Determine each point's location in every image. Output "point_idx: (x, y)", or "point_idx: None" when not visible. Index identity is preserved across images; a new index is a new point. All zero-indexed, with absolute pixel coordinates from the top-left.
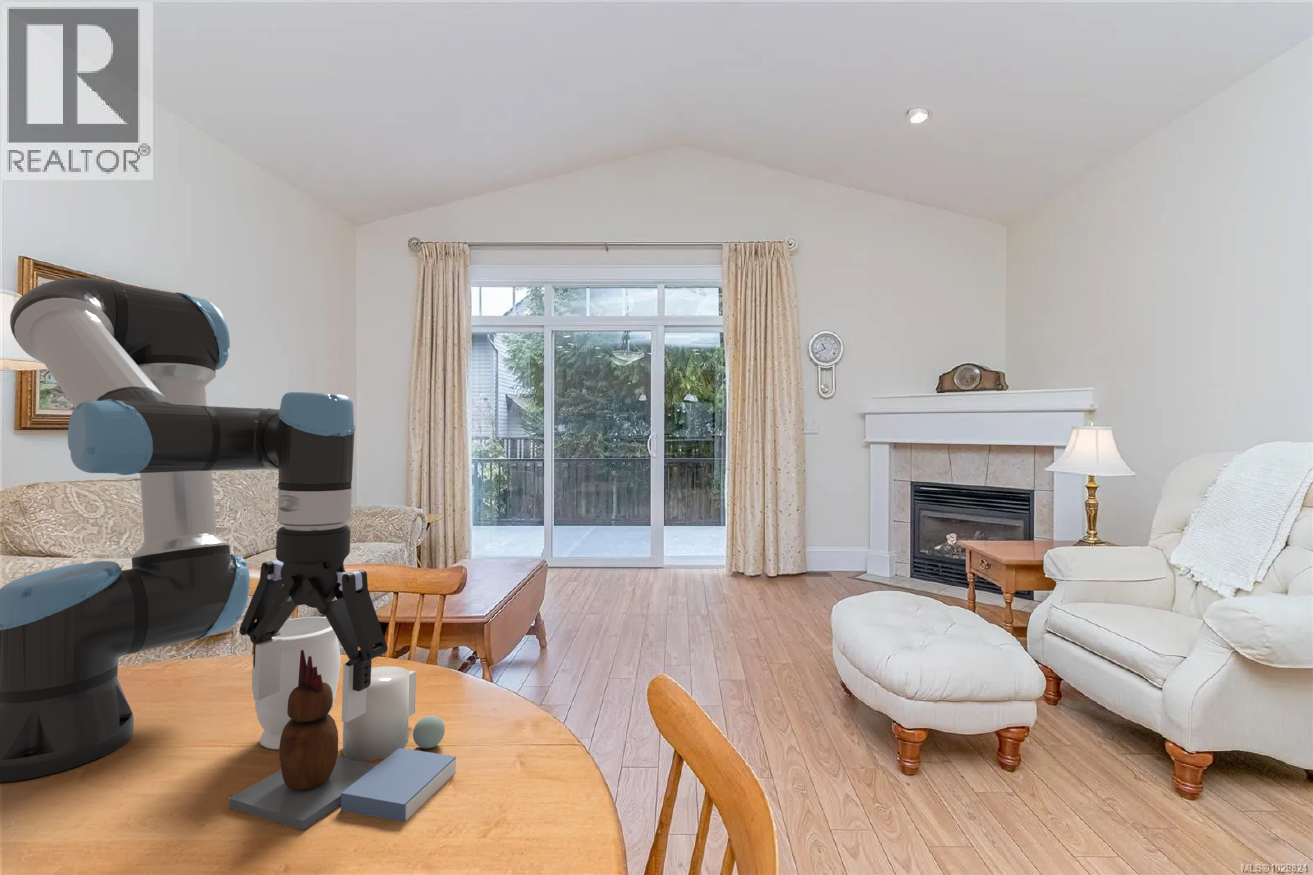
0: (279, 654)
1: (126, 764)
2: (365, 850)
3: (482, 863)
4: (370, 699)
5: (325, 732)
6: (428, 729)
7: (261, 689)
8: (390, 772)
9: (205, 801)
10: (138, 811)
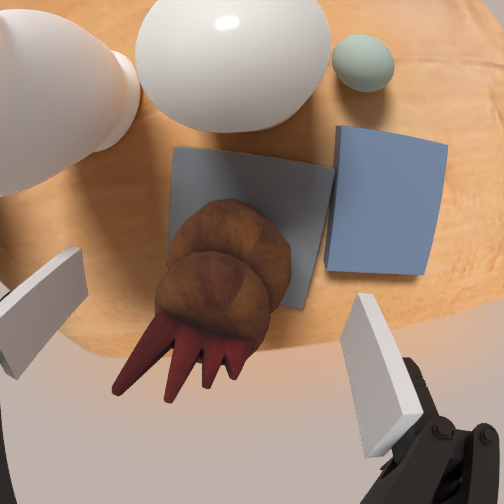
0: (22, 302)
1: (12, 229)
2: (392, 313)
3: (491, 301)
4: (273, 123)
5: (281, 297)
6: (381, 83)
7: (75, 301)
8: (372, 207)
9: (134, 272)
10: (95, 296)
